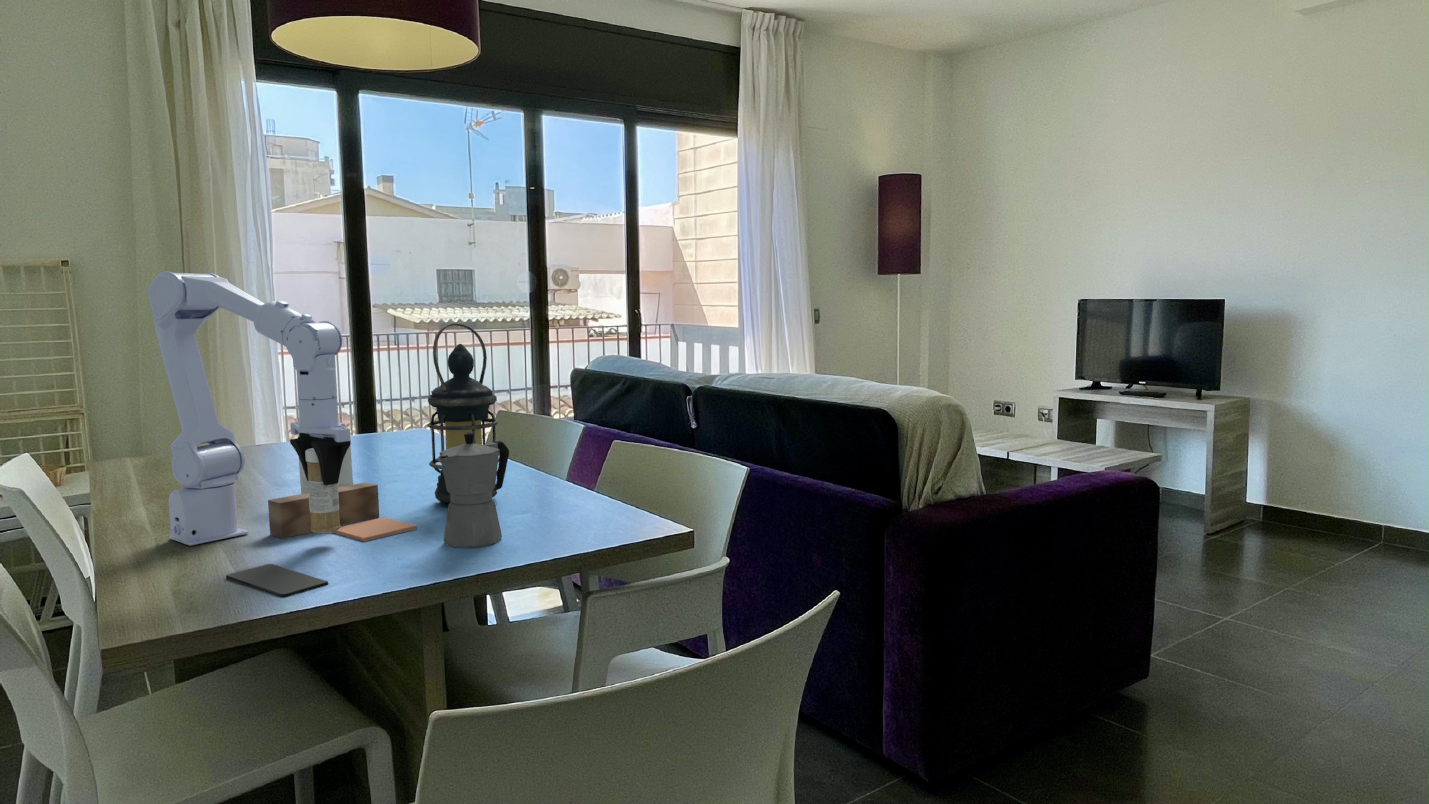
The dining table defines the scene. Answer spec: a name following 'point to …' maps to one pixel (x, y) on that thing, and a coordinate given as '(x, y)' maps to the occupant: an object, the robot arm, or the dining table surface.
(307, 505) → the long brown wooden block
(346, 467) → the supplement box
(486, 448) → the coffeepot
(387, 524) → the pad
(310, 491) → the sprinkles bottle
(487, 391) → the lantern
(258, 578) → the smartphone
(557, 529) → the dining table surface
